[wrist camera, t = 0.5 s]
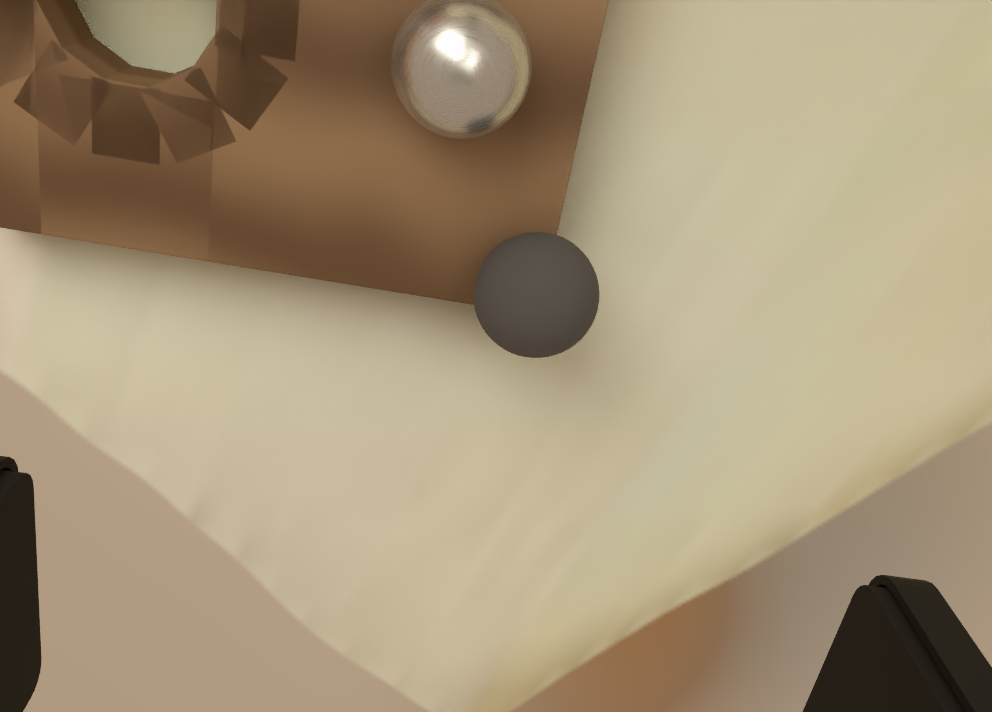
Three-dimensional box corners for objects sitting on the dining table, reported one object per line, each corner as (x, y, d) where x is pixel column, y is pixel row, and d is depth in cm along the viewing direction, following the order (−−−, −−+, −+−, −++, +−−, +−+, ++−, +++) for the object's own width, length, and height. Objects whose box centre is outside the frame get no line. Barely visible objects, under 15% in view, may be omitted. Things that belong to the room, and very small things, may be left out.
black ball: (484, 206, 30) (485, 246, 26) (604, 226, 30) (621, 269, 27) (464, 316, 32) (462, 369, 28) (577, 334, 32) (589, 388, 28)
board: (-25, -356, 25) (-75, -382, 23) (642, -209, 27) (657, -219, 25) (4, 200, 32) (-32, 222, 30) (534, 288, 34) (538, 314, 32)
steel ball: (406, -26, 27) (395, -16, 23) (540, 0, 27) (549, 14, 24) (388, 110, 28) (375, 139, 25) (514, 133, 29) (519, 165, 25)
